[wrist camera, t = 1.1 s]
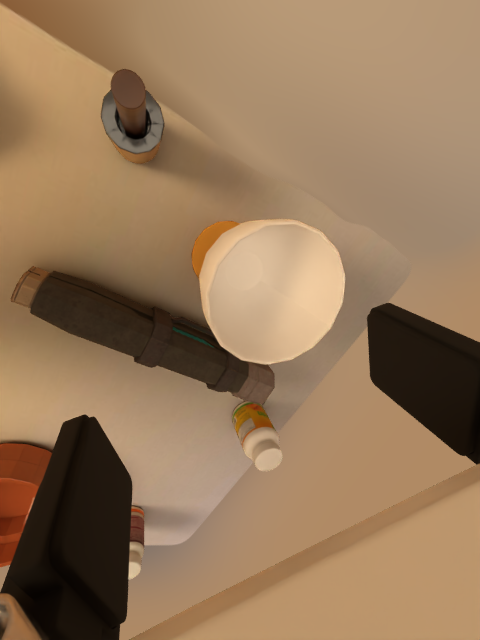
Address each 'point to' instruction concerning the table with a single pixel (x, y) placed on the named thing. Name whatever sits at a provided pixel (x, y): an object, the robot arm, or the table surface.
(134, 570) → the pill bottle
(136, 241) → the table surface
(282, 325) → the cup
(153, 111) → the holder
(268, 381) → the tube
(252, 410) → the supplement bottle
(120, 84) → the stick
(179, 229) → the table surface
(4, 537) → the bowl
